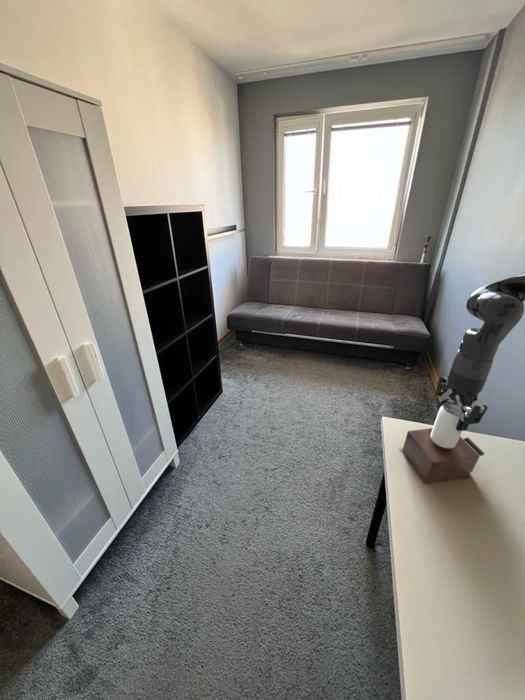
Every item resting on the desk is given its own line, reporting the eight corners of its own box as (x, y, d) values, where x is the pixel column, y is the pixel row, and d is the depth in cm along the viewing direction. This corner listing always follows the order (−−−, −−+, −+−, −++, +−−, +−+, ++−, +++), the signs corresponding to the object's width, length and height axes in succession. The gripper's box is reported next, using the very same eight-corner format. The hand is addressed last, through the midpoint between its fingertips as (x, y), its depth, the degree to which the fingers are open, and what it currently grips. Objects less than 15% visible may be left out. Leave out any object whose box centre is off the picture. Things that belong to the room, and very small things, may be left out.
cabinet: (441, 445, 91) (449, 425, 87) (468, 476, 81) (478, 456, 76) (402, 450, 89) (407, 431, 85) (424, 482, 79) (432, 462, 75)
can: (425, 432, 83) (436, 400, 78) (448, 432, 83) (460, 400, 77) (437, 449, 78) (449, 416, 72) (460, 449, 77) (475, 416, 72)
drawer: (459, 443, 90) (465, 427, 87) (485, 470, 81) (493, 454, 78) (410, 449, 89) (415, 433, 85) (431, 477, 80) (438, 461, 76)
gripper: (509, 385, 63) (484, 438, 71) (462, 354, 75) (445, 402, 83) (479, 388, 62) (456, 442, 70) (436, 356, 75) (421, 405, 83)
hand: (450, 420), depth 77 cm, fingers closed on can, 6 cm apart
